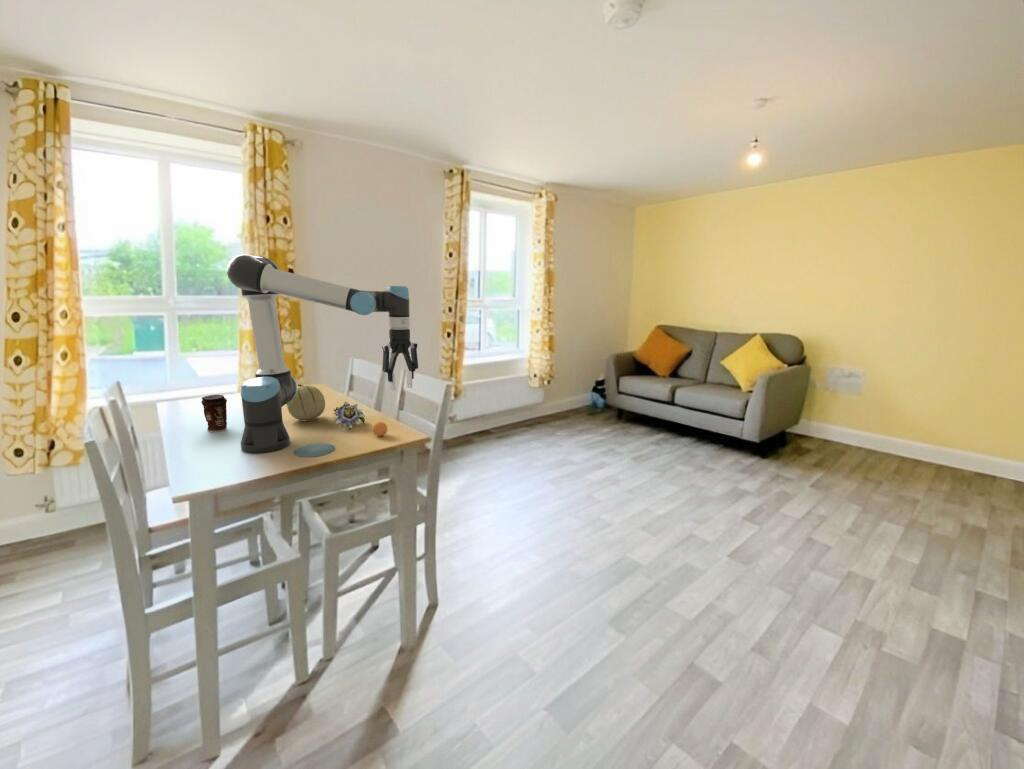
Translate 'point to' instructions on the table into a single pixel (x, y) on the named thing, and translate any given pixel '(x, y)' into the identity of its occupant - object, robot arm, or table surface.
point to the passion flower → (349, 415)
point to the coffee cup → (215, 412)
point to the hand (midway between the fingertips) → (401, 388)
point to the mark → (314, 450)
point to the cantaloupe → (306, 403)
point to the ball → (379, 428)
